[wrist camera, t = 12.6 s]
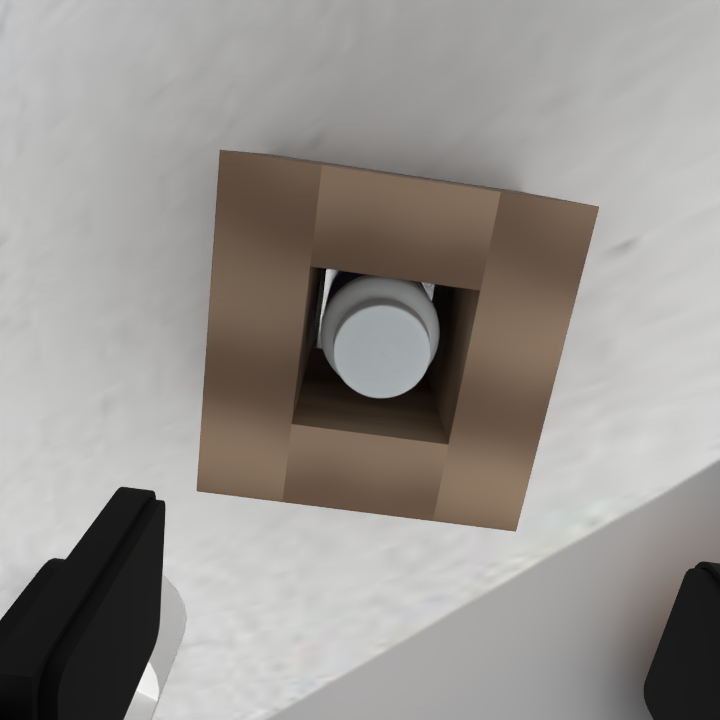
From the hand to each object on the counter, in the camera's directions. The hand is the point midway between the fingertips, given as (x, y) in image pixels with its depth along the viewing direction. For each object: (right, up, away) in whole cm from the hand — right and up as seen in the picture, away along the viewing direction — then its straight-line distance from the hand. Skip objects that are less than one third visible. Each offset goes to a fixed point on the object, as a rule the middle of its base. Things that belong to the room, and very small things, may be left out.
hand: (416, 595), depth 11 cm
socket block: (0, +8, +24) cm, 25 cm away
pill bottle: (0, +7, +23) cm, 25 cm away
